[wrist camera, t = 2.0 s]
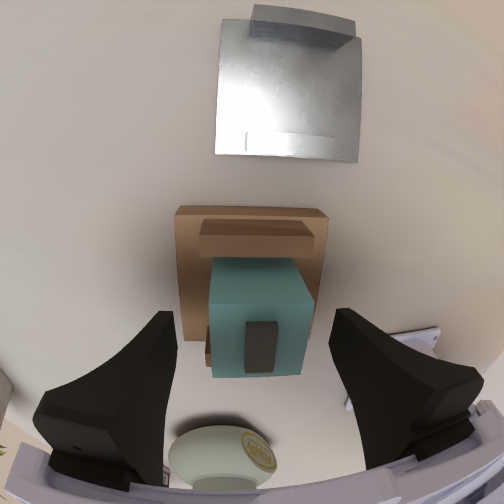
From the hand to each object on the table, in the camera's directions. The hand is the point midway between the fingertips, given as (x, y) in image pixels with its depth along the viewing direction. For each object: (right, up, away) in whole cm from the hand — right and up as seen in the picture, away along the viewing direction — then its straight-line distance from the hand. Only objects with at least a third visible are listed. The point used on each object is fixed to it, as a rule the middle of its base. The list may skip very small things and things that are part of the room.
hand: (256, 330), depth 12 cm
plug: (0, +1, +4) cm, 4 cm away
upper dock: (0, +2, +6) cm, 6 cm away
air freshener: (-3, -16, +13) cm, 21 cm away
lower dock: (+2, +12, +2) cm, 13 cm away
